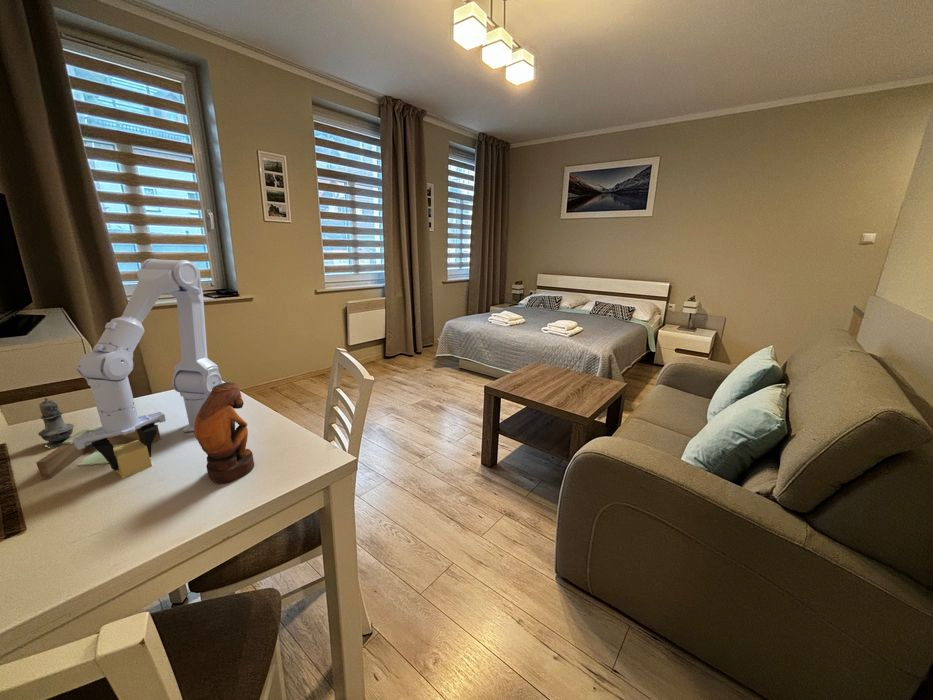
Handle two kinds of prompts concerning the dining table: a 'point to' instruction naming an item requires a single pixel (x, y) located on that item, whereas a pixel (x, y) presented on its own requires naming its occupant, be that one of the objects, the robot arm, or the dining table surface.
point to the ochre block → (132, 458)
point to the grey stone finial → (54, 424)
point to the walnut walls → (78, 452)
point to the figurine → (223, 434)
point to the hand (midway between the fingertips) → (131, 462)
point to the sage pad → (96, 458)
